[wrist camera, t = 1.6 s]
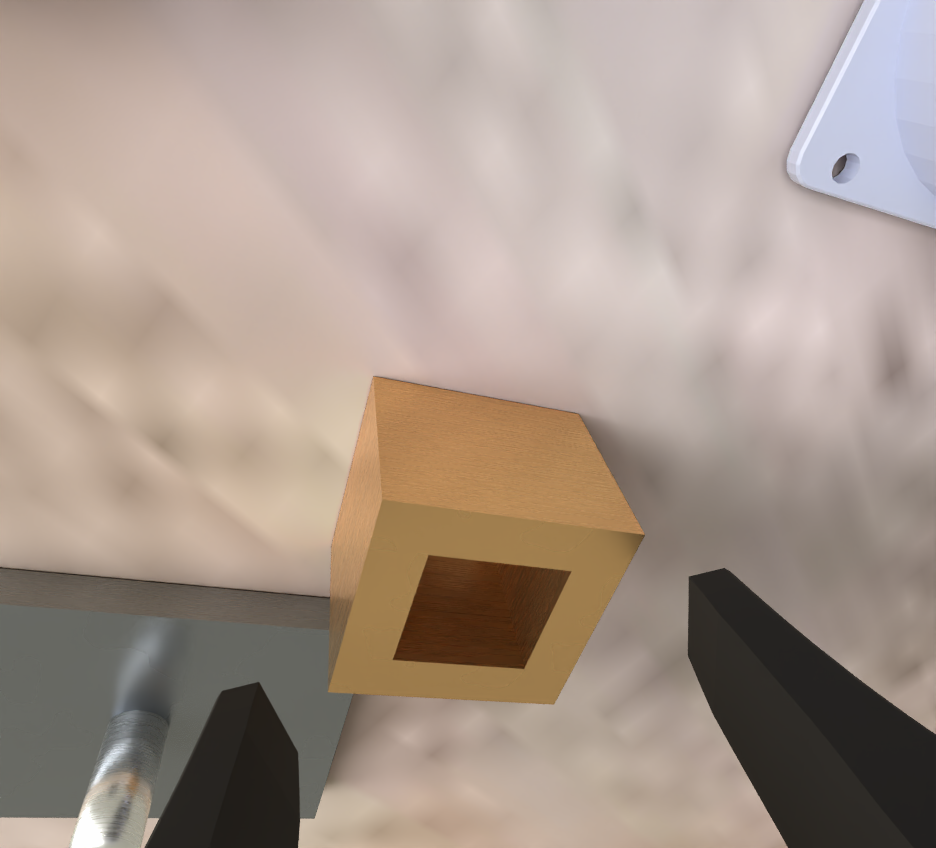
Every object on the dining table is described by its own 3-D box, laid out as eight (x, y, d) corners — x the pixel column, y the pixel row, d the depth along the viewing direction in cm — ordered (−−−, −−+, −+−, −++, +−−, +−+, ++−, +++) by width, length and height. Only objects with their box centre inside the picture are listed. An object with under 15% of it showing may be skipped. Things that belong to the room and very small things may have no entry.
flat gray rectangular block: (370, 602, 17) (376, 749, 14) (315, 785, 21) (310, 935, 18) (-96, 560, 14) (-228, 730, 11) (-61, 779, 18) (-152, 955, 15)
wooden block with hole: (578, 414, 15) (644, 535, 12) (513, 566, 17) (554, 704, 14) (373, 376, 14) (382, 499, 10) (331, 545, 16) (327, 692, 13)
